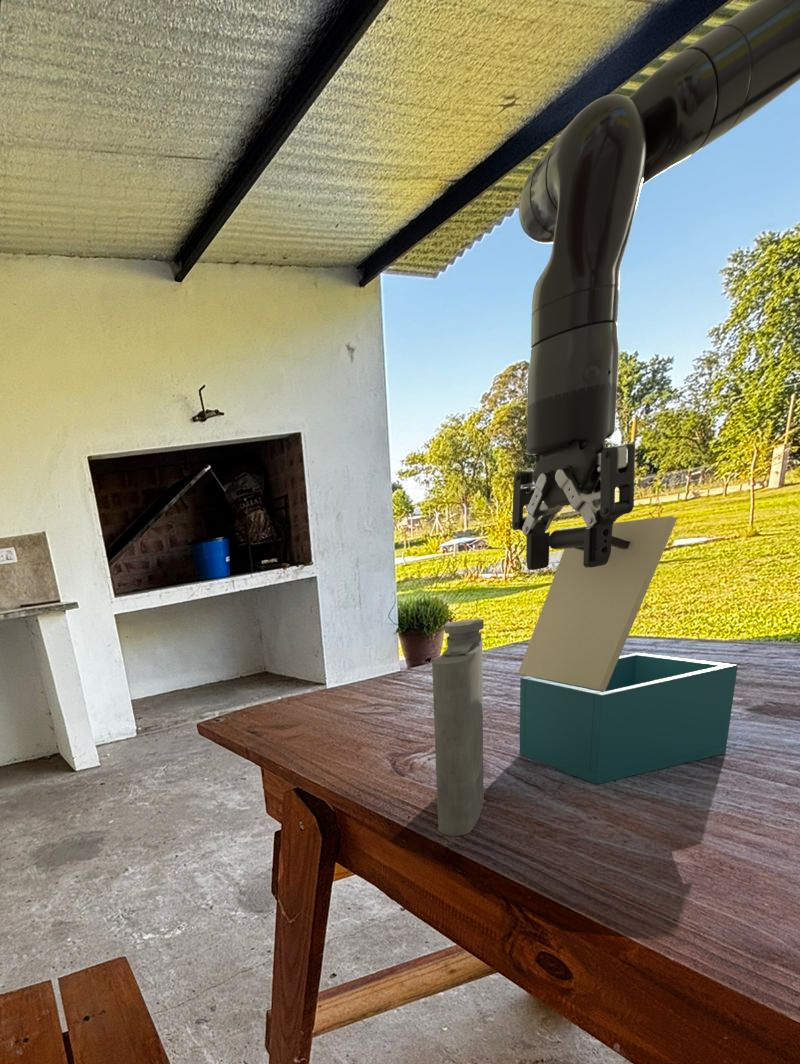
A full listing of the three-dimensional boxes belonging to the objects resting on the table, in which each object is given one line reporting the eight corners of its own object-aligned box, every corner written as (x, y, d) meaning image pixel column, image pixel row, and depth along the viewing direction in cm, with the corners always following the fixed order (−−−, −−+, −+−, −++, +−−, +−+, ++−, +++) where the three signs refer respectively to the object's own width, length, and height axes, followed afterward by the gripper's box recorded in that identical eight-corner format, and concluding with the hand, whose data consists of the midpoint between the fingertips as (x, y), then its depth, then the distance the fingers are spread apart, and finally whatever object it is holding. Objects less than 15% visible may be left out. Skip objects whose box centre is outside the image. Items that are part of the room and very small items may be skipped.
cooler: (630, 728, 81) (636, 652, 77) (725, 753, 68) (738, 664, 65) (519, 754, 79) (520, 677, 76) (596, 784, 67) (601, 695, 63)
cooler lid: (577, 529, 71) (535, 516, 69) (678, 517, 59) (629, 501, 57) (522, 675, 76) (482, 665, 74) (605, 691, 63) (558, 680, 62)
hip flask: (452, 778, 75) (448, 612, 68) (489, 778, 73) (488, 607, 66) (436, 835, 63) (428, 637, 55) (480, 837, 61) (477, 632, 54)
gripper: (670, 361, 53) (653, 558, 59) (554, 406, 66) (550, 563, 72) (591, 374, 52) (582, 572, 58) (490, 417, 66) (491, 575, 71)
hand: (564, 567), depth 65 cm, fingers open, 8 cm apart
